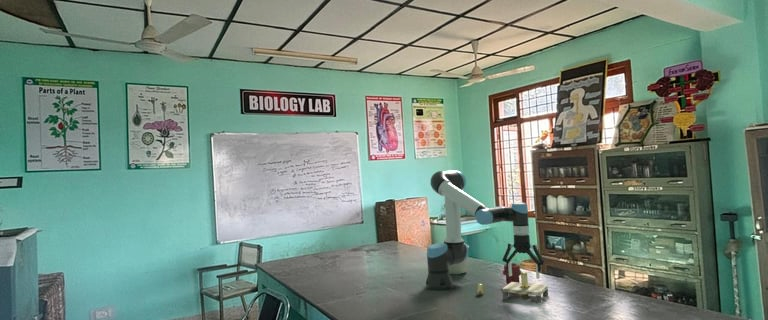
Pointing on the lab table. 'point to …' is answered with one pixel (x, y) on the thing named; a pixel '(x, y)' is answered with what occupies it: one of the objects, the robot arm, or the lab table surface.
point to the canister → (459, 267)
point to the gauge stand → (526, 290)
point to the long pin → (524, 283)
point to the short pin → (480, 289)
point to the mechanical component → (515, 273)
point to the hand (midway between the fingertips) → (524, 277)
